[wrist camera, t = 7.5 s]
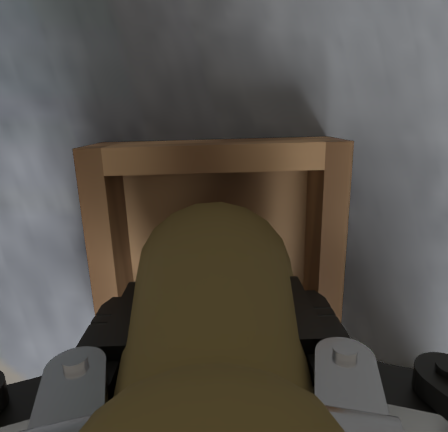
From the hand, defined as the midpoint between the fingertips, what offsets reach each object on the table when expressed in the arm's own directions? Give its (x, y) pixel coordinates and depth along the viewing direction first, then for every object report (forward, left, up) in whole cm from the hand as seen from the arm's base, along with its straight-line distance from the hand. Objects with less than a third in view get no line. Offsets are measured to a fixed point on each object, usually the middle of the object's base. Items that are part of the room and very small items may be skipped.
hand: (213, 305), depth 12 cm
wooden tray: (0, 0, -6) cm, 6 cm away
